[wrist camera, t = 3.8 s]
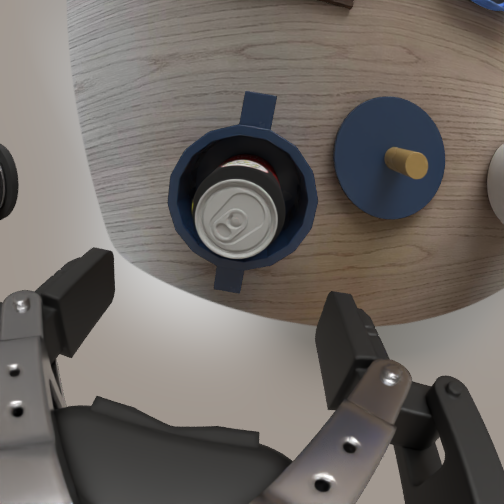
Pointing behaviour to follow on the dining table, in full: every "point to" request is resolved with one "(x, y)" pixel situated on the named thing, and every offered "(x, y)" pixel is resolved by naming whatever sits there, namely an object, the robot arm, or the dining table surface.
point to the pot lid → (389, 157)
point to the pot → (231, 144)
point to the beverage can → (239, 207)
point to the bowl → (491, 4)
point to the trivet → (340, 3)
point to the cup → (497, 183)
